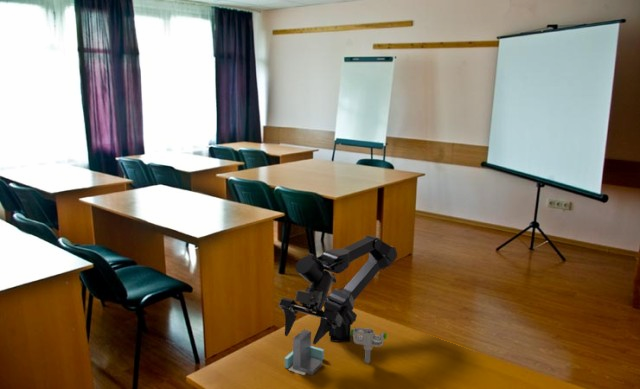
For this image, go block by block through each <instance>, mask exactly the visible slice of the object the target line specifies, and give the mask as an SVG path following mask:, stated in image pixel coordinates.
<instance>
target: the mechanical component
mask: <svg viewBox="0 0 640 389" xmlns="http://www.w3.org/2000/svg"><path fill="white" fill-rule="evenodd" d="M350 331H351V336H352V337H353V340H352V341H353V342H354V344H355V345H361V346H362V345H363V349H364V352H365V353H364V363H365V364H370V363H371V351H372V350H373V347H377V348H379V347H382V346H383V345H384V340H387V333H385V332H384V331H382V332H381V334H376V333H375V332H374V331H375V330H374V329H373V328H364V327H355V326H354V328H353V329H352V328H351V330H350Z"/></svg>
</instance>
